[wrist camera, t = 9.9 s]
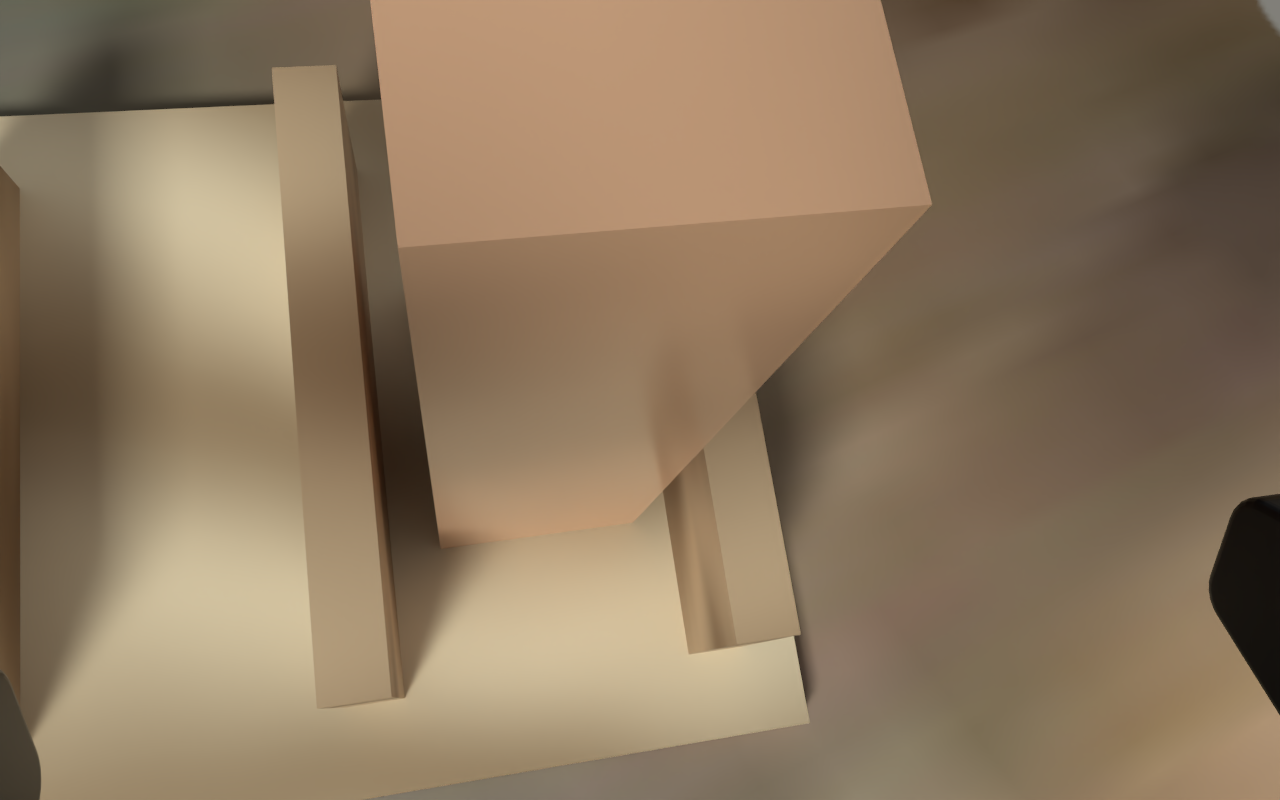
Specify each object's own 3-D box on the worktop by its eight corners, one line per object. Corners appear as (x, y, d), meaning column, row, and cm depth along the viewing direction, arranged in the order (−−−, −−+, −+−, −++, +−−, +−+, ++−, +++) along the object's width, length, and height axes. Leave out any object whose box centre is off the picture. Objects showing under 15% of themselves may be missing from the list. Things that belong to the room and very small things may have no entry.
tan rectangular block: (592, 272, 21) (787, -375, 8) (632, 522, 19) (931, 203, 7) (411, 287, 20) (327, -390, 8) (440, 549, 19) (399, 247, 6)
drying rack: (799, 722, 19) (883, 727, 16) (-560, 954, 15) (-907, 1039, 11) (686, 100, 23) (733, -24, 19) (-459, 155, 19) (-704, 11, 15)
